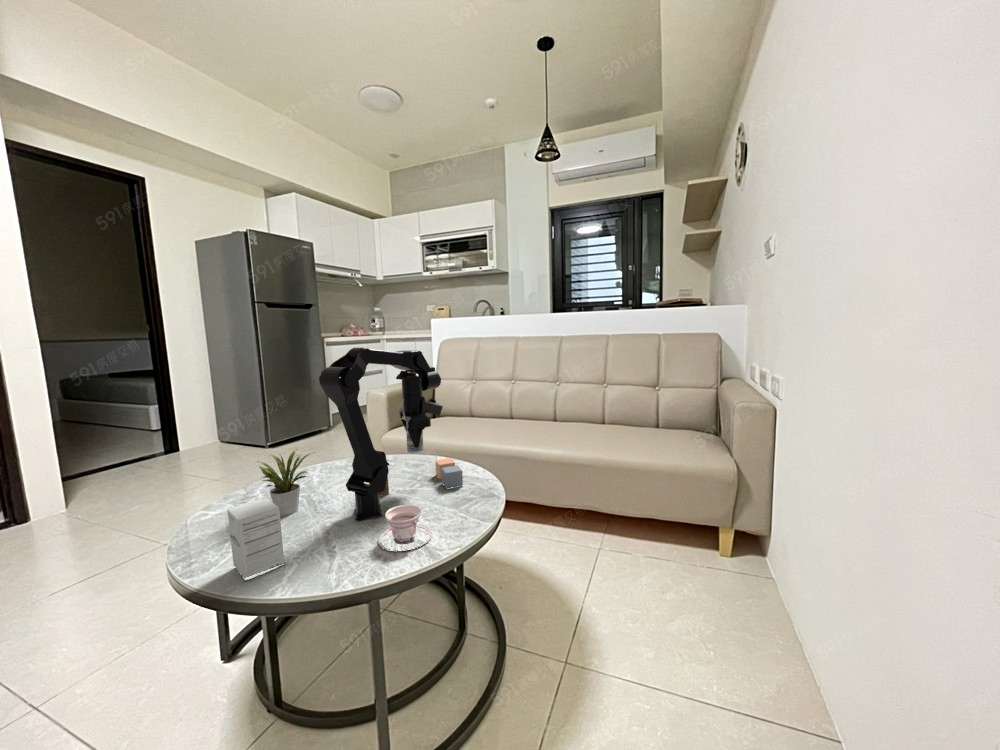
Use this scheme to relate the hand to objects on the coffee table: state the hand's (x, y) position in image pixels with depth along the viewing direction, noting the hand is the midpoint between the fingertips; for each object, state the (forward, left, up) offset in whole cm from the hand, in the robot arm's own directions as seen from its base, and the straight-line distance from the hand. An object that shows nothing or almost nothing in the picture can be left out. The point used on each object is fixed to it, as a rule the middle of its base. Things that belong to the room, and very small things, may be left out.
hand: (415, 445), depth 117 cm
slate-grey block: (-3, -10, -13) cm, 17 cm away
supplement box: (-27, +37, -13) cm, 48 cm away
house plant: (0, +34, -13) cm, 36 cm away
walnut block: (+1, +11, -13) cm, 17 cm away
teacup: (-28, +8, -13) cm, 32 cm away
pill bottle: (0, 0, -2) cm, 2 cm away
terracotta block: (+5, -10, -13) cm, 17 cm away
